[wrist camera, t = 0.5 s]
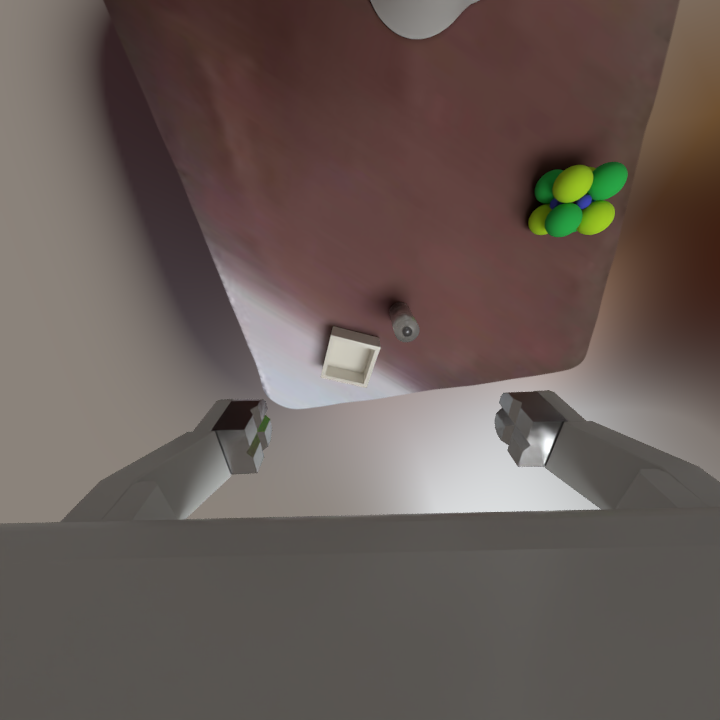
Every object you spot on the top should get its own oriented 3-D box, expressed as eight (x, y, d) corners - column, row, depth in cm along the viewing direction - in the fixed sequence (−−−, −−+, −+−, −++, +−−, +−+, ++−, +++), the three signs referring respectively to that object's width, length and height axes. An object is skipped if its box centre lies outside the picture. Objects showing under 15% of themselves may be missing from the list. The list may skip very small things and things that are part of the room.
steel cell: (392, 299, 51) (399, 317, 43) (412, 305, 52) (423, 324, 43) (386, 319, 53) (391, 340, 44) (405, 324, 54) (414, 345, 45)
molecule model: (532, 172, 42) (520, 234, 46) (571, 163, 34) (552, 239, 38) (590, 168, 42) (572, 231, 46) (643, 157, 34) (616, 234, 38)
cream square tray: (333, 326, 54) (330, 334, 50) (379, 337, 55) (380, 347, 51) (323, 366, 58) (320, 377, 54) (366, 376, 59) (366, 387, 56)
